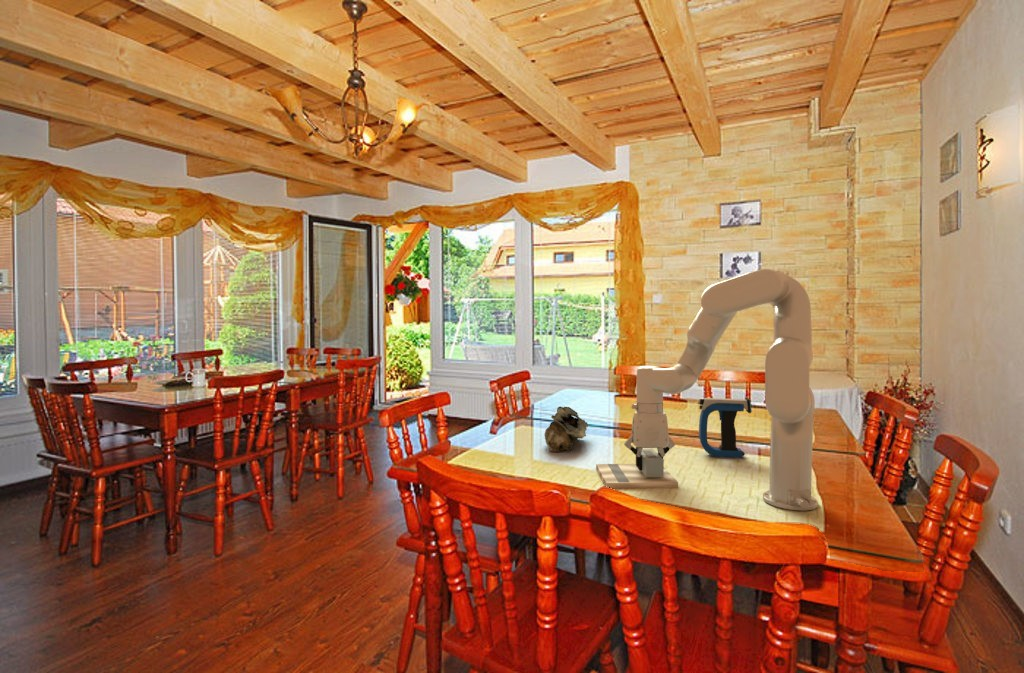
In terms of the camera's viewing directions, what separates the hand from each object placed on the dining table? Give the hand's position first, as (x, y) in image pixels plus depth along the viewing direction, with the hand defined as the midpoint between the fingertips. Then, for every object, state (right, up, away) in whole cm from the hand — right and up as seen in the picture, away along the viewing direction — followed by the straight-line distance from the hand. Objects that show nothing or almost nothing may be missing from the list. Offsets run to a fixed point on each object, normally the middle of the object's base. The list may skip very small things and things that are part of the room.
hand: (649, 468), depth 161 cm
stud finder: (0, -1, 0) cm, 1 cm away
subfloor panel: (-4, -3, 0) cm, 5 cm away
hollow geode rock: (-20, -1, +39) cm, 44 cm away
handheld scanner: (+31, -1, +22) cm, 38 cm away
